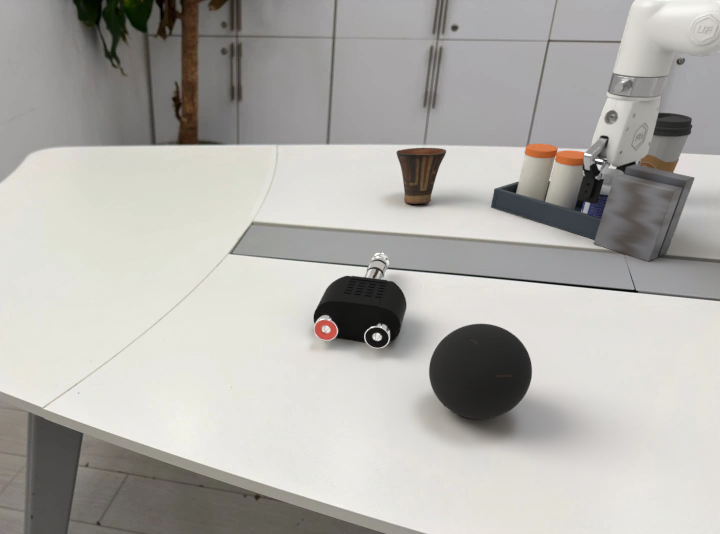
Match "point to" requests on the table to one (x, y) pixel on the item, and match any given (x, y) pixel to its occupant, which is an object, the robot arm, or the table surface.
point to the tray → (545, 211)
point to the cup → (419, 172)
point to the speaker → (480, 371)
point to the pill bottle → (601, 194)
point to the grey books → (643, 211)
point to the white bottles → (562, 179)
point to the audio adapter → (362, 307)
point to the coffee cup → (667, 141)
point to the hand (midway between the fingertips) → (603, 195)
